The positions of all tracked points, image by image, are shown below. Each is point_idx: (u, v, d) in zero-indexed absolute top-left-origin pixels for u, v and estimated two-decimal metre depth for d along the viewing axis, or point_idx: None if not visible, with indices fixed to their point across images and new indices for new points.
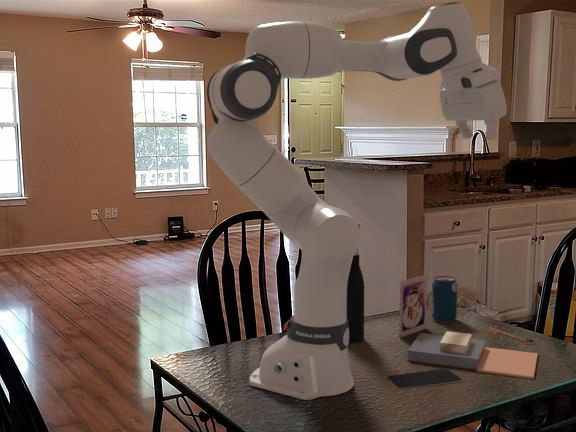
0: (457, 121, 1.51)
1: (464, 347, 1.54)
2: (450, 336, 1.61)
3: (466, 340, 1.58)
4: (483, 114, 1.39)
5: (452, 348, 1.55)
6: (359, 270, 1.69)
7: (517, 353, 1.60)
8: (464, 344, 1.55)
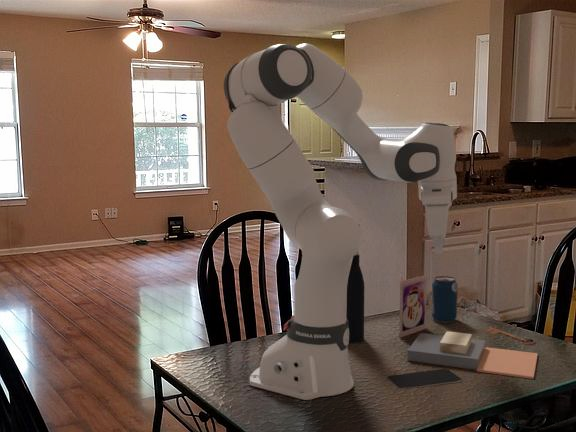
0: None
1: (464, 347, 1.54)
2: (450, 336, 1.61)
3: (466, 340, 1.58)
4: None
5: (452, 348, 1.55)
6: (359, 270, 1.69)
7: (517, 353, 1.60)
8: (464, 344, 1.55)
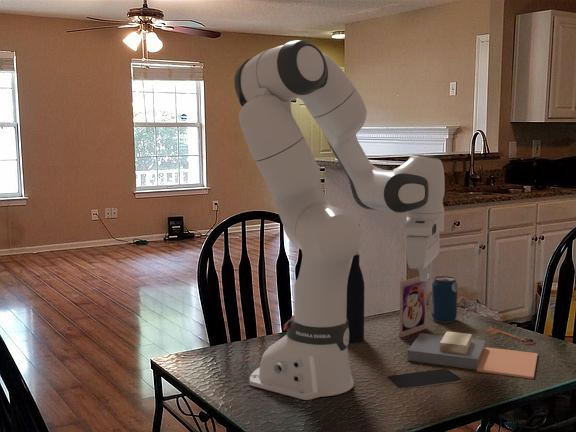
0: None
1: (464, 347, 1.54)
2: (450, 336, 1.61)
3: (466, 340, 1.58)
4: None
5: (452, 348, 1.55)
6: (359, 270, 1.69)
7: (517, 353, 1.60)
8: (464, 344, 1.55)
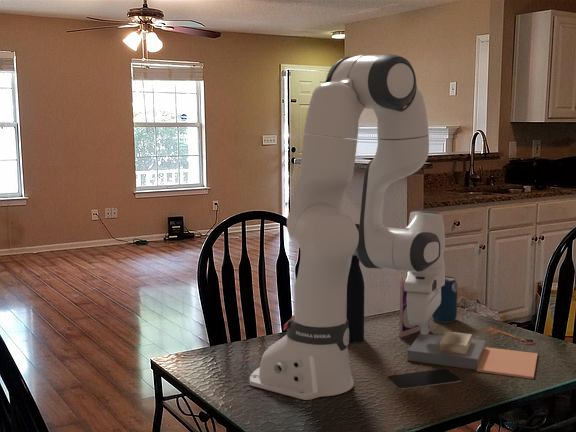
0: None
1: (464, 347, 1.54)
2: (450, 336, 1.61)
3: (466, 340, 1.58)
4: None
5: (452, 348, 1.55)
6: (359, 270, 1.69)
7: (517, 353, 1.60)
8: (464, 344, 1.55)
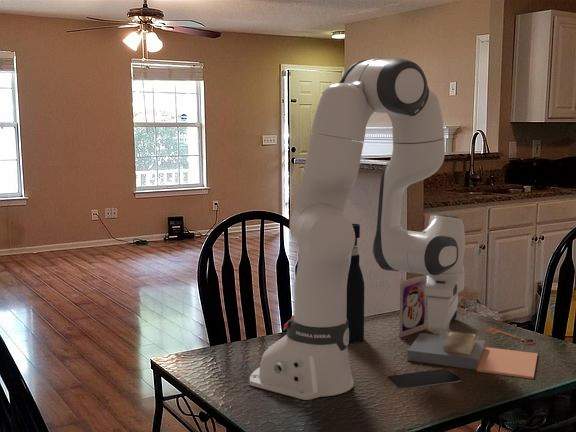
0: None
1: (468, 347, 1.54)
2: (454, 336, 1.61)
3: (470, 340, 1.58)
4: None
5: (456, 349, 1.55)
6: (359, 270, 1.69)
7: (517, 353, 1.60)
8: (468, 344, 1.55)
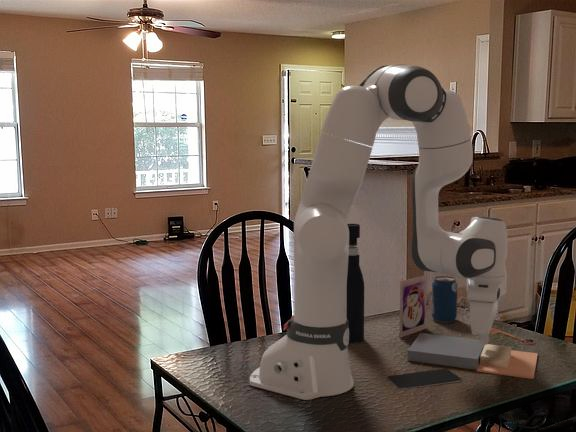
0: None
1: (506, 361, 1.51)
2: (489, 349, 1.58)
3: (507, 353, 1.54)
4: None
5: (493, 362, 1.52)
6: (359, 270, 1.69)
7: (517, 353, 1.60)
8: (506, 358, 1.52)
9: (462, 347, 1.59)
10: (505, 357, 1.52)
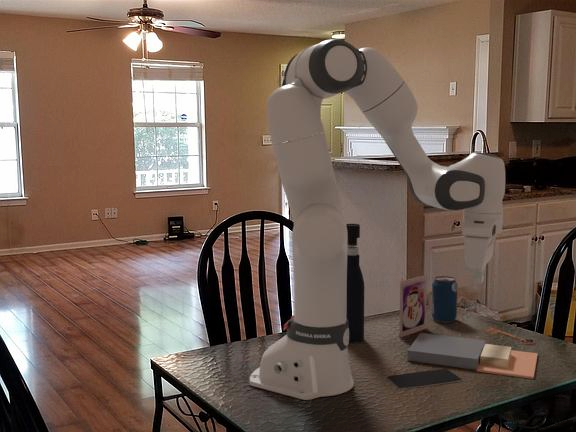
0: None
1: (506, 361, 1.51)
2: (489, 349, 1.58)
3: (507, 353, 1.54)
4: None
5: (493, 362, 1.52)
6: (359, 270, 1.69)
7: (517, 353, 1.60)
8: (506, 358, 1.52)
9: (462, 347, 1.59)
10: (505, 357, 1.52)
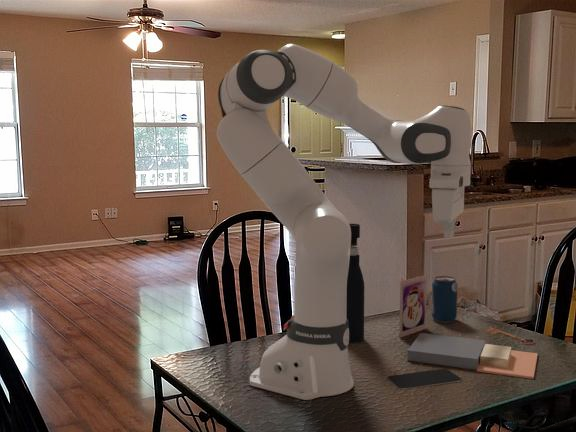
0: None
1: (506, 361, 1.51)
2: (489, 349, 1.58)
3: (507, 353, 1.54)
4: None
5: (493, 362, 1.52)
6: (359, 270, 1.69)
7: (517, 353, 1.60)
8: (506, 358, 1.52)
9: (462, 347, 1.59)
10: (505, 357, 1.52)
